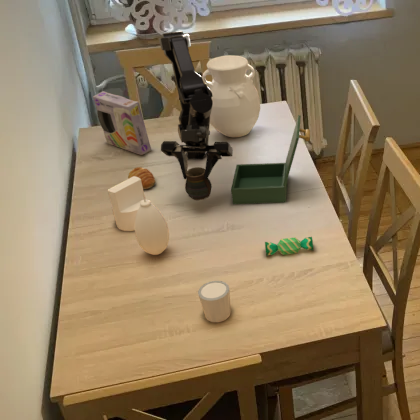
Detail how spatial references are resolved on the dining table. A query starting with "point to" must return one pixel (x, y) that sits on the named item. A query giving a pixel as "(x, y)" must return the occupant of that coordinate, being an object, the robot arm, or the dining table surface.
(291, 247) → the candy
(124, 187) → the base with upright slab
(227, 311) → the white cylinder
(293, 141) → the green box lid
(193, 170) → the mate gourd
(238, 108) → the cream handled vase
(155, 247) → the bulb air blower
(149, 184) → the pastry
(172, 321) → the dining table surface
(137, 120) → the cake pan box
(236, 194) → the green open box
